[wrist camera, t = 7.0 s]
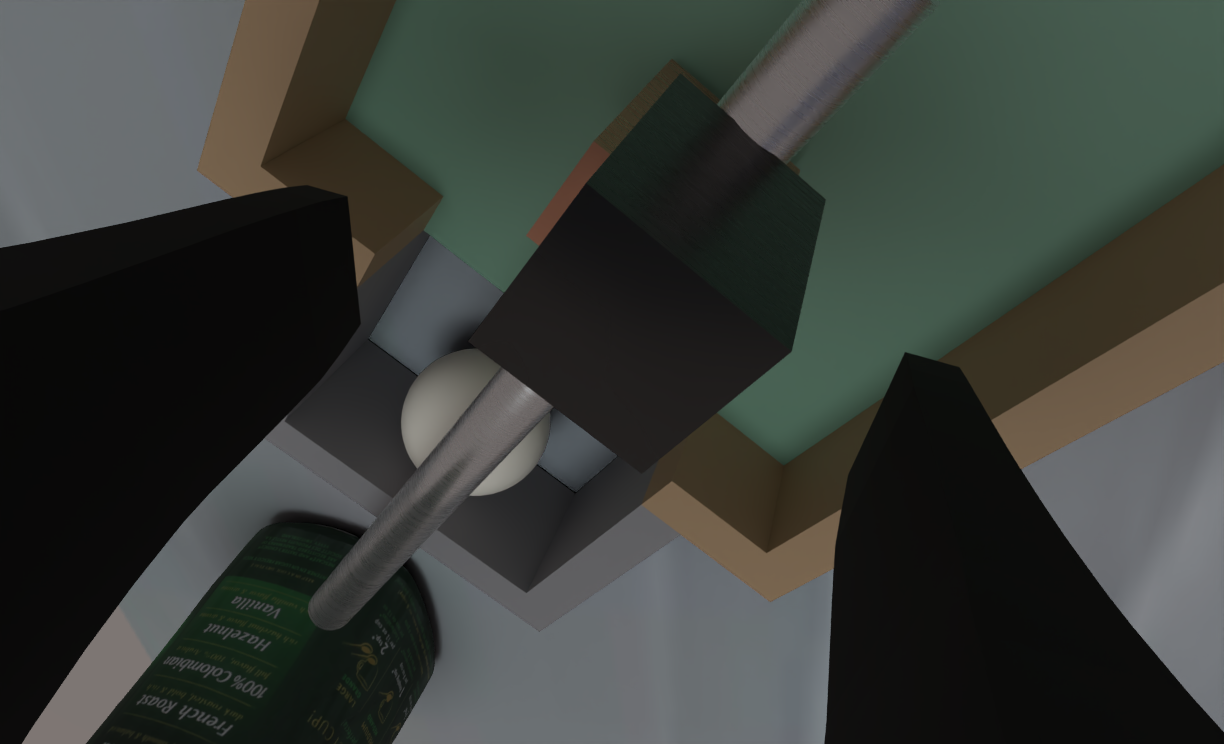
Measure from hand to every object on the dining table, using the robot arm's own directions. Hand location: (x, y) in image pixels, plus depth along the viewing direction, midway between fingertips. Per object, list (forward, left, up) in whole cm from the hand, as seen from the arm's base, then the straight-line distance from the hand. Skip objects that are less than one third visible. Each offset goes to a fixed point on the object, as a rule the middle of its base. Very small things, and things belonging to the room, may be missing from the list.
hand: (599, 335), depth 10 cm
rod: (+5, 0, -7) cm, 9 cm away
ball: (+10, 0, -6) cm, 12 cm away
